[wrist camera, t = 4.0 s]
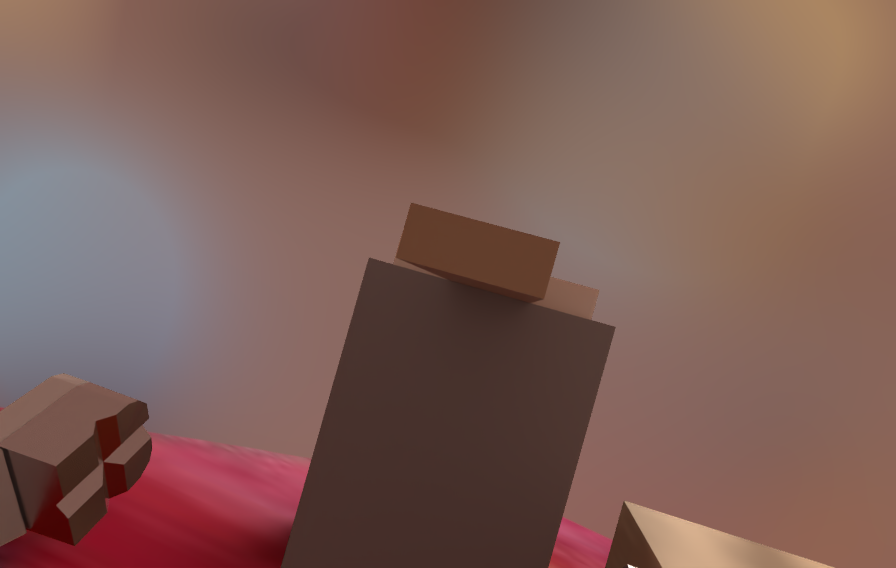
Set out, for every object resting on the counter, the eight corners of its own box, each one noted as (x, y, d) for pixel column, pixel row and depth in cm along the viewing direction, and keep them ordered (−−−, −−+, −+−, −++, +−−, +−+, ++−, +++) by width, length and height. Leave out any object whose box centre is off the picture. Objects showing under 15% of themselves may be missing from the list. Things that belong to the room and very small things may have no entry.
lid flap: (290, 227, 15) (305, 174, 15) (428, 277, 40) (434, 257, 40) (662, 332, 14) (678, 273, 14) (567, 316, 39) (573, 295, 39)
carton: (220, 780, 27) (369, 257, 27) (328, 605, 43) (422, 276, 43) (460, 880, 26) (615, 327, 26) (480, 660, 41) (576, 319, 42)
